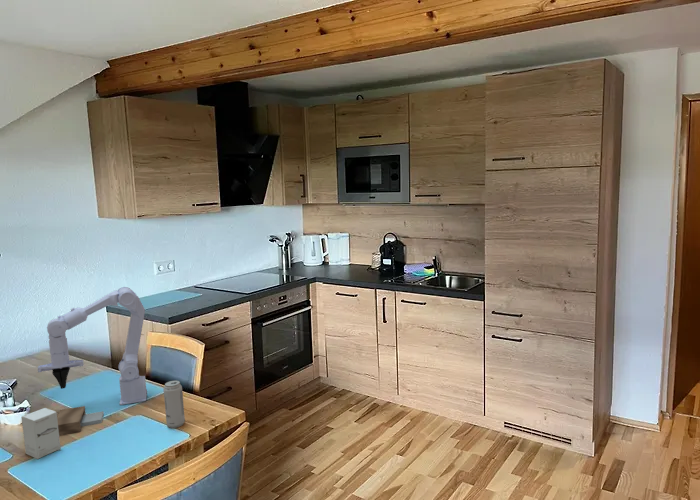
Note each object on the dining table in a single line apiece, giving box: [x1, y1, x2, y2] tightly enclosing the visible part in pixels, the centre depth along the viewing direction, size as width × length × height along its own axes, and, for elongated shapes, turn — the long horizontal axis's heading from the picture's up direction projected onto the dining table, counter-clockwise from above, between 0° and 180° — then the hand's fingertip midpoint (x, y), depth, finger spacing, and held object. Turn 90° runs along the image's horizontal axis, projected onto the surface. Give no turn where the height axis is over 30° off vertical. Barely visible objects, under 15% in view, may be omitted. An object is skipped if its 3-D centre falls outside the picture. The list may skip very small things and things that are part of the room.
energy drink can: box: [163, 380, 186, 429], centre depth 177 cm, size 6×6×15 cm
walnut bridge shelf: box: [57, 405, 87, 436], centre depth 180 cm, size 8×14×4 cm, turn 20°
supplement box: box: [21, 407, 61, 460], centre depth 162 cm, size 7×7×13 cm
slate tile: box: [80, 410, 105, 428], centre depth 183 cm, size 12×8×2 cm, turn 110°
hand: (63, 387), depth 188 cm, fingers closed
